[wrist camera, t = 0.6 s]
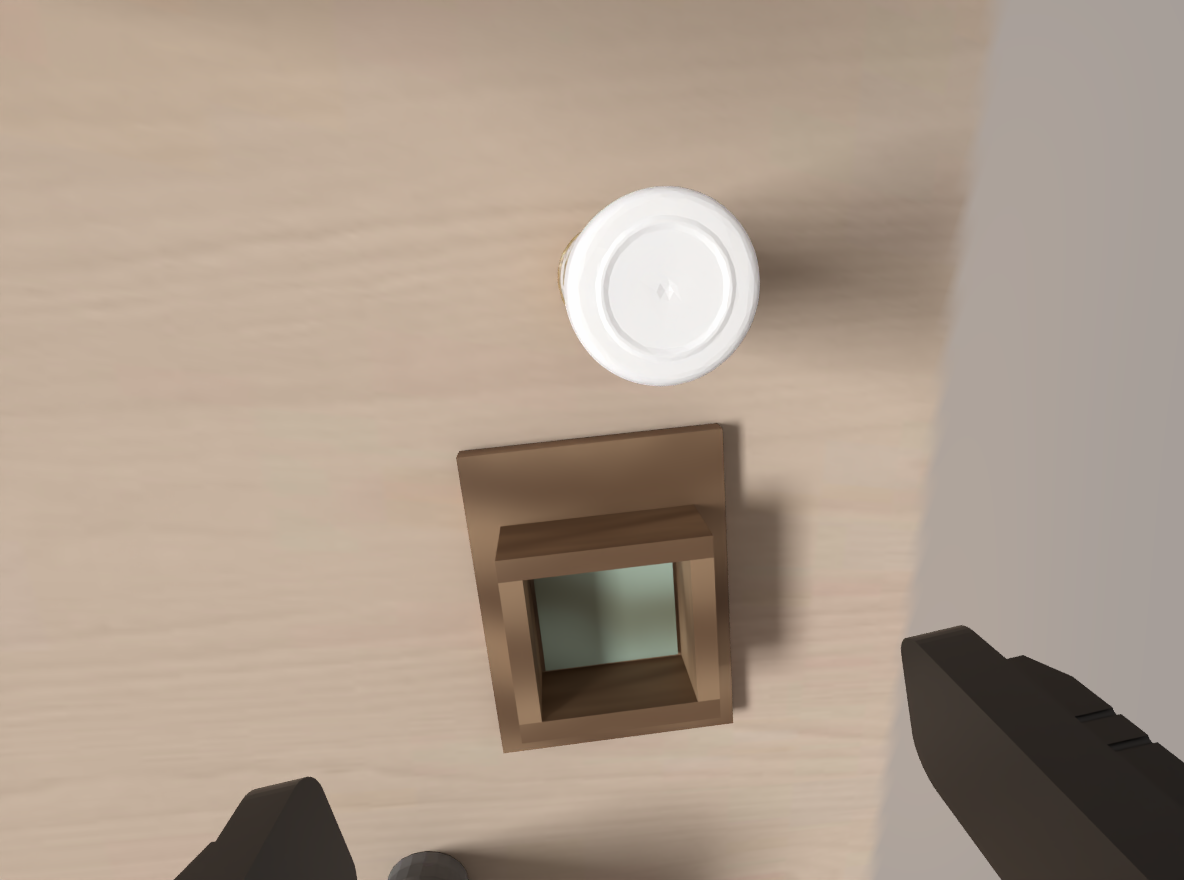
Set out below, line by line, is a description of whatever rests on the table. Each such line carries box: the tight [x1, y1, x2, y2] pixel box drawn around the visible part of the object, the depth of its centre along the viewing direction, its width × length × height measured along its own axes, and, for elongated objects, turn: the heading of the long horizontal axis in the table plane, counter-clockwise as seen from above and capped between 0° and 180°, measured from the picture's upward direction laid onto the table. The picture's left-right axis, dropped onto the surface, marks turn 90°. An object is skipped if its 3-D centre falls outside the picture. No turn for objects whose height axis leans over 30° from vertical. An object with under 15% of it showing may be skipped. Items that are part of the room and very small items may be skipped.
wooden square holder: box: [456, 423, 733, 753], centre depth 29 cm, size 16×12×4 cm
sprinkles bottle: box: [558, 186, 760, 386], centre depth 20 cm, size 5×5×14 cm
